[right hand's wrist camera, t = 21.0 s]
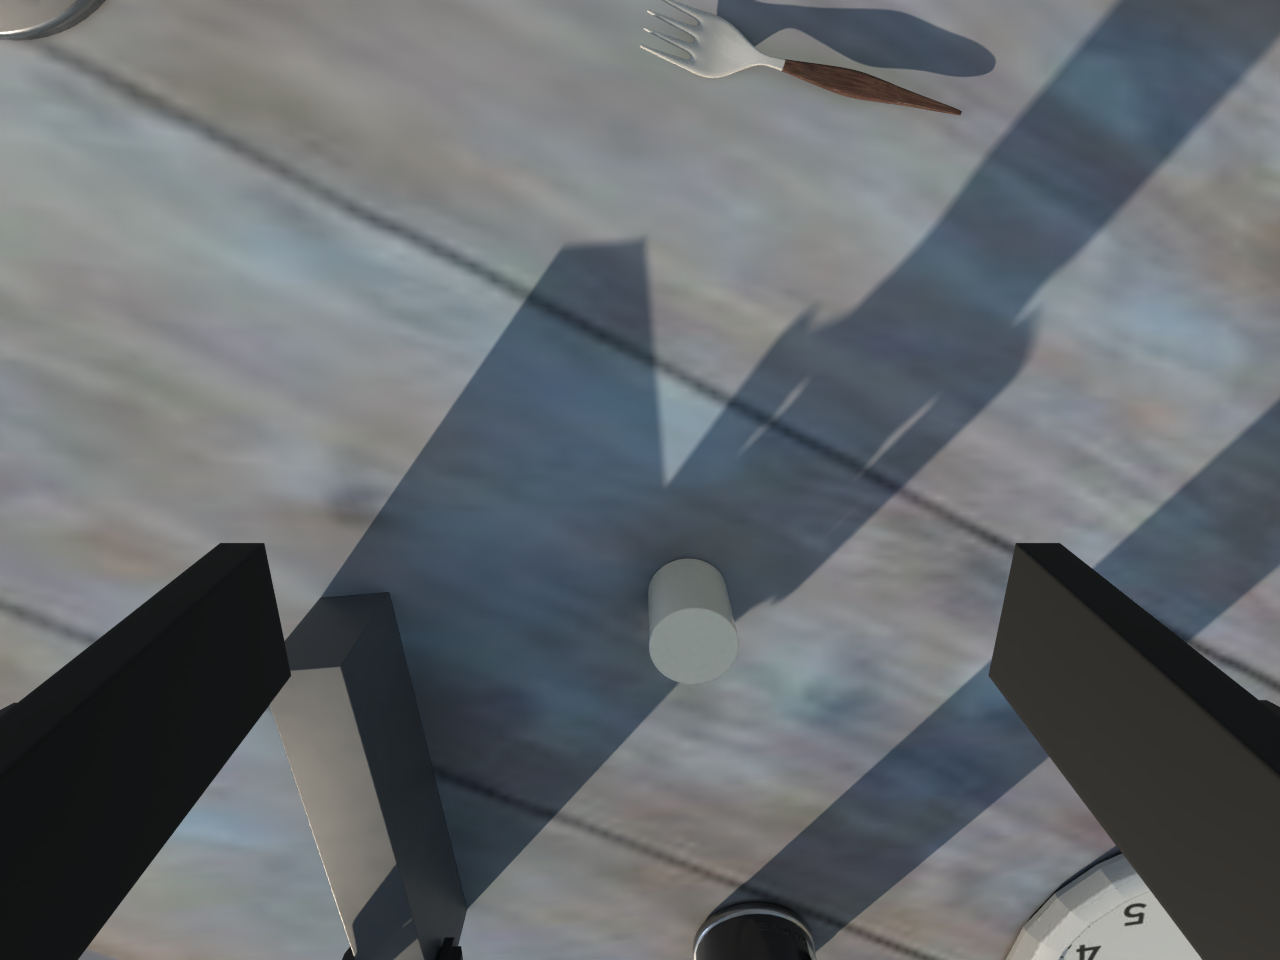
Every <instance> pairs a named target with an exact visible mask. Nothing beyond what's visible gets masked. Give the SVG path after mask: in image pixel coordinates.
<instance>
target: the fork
mask: <svg viewBox="0 0 1280 960" xmlns="http://www.w3.org/2000/svg"><path fill="white" fill-rule="evenodd" d="M662 1H664V2H666V3H667V4H669V5H671V6H673V7H675V8H676V9H678V10H680V11H682V12H684V13H686V14H688V15H690V16H691V17H693V18H695V19H696V20H697V21H698V26H691V25H688V24H685V23H682V22H680V21H677V20H674V19H671V18H669V17H666V16H663V15H660V14H658V13H655V12H652V11H649V10H648V11H647V12H649V13H650V14H652V15H654V16H656V17H657V18H659V19H661V20H663V21H665V22H667V23H668V24H670V25H672V26H674V27H676V28H678V29H680V30H682V31H684V32H686V33H688V34H689V35H691V36H692V37H693V38H694V40H695V41H694V42H693V43H688V42H685V41H682V40H679V39H676V38H673V37H670V36H667V35H664V34H661V33H658V32H656V31H653V30H650V29H647V28H644V30H646V31H648V32H649V33H651V34H653V35H655V36H657V37H659V38H661V39H663V40H665V41H667V42H668V43H670V44H672V45H674V46H676V47H678V48H681V49H682V50H684V51H686V52H688V53H689V54H690V56H691V58H690V59H682V58H679V57H676V56H673V55H670V54H667V53H664V52H661V51H658V50H655V49H652V48H649V47H646V46H644V45H640V47H641V48H643V49H646V50H648V51H649V52H651V53H653V54H655V55H657V56H659V57H661V58H663V59H665V60H667V61H669V62H672V63H674V64H676V65H678V66H680V67H682V68H685V69H687V70H689V71H691V72H693V73H695V74H697V75H700V76H703V77H707V78H718V77H723V76H727V75H730V74H733V73H735V72H738V71H740V70H743V69H745V68H748V67H751V66H755V65H766V66H770V67H773V68H776V69H778V70H781V71H783V72H785V73H788V74H790V75H793V76H795V77H797V78H800V79H802V80H804V81H807V82H809V83H812V84H814V85H816V86H819V87H821V88H824V89H826V90H829V91H831V92H834V93H837V94H840V95H843V96H847V97H851V98H856V99H861V100H867V101H874V102H882V103H889V104H896V105H903V106H909V107H915V108H920V109H926V110H932V111H937V112H943V113H949V114H955V115H961V112H962V111H960V110H958V109H956V108H953V107H951V106H948V105H945V104H943V103H940V102H938V101H935V100H932V99H930V98H927V97H924V96H922V95H919V94H916V93H914V92H911V91H909V90H906V89H904V88H901V87H899V86H896V85H894V84H891V83H889V82H887V81H884V80H882V79H879V78H877V77H874V76H871V75H869V74H866V73H863V72H860V71H856V70H852V69H847V68H842V67H836V66H829V65H822V64H815V63H807V62H800V61H793V60H786V59H780V58H774V57H770V56H767V55H765V54H763V53H761V52H760V51H758V50H757V49H756V48H755V47H754V46H753V45H752V44H751V43H750V42H749V41H748V40H747V39H746V38H745V37H744V36H743V34H742V33H741V32H740V31H739V30H738V29H737V28H735V27H734V26H733V25H732V24H731V23H729V22H728V21H726V20H725V19H723V18H721V17H719V16H717V15H714V14H711V13H707V12H704V11H700V10H698V9H695V8H692V7H689V6H687V5H684V4H681V3H679V2H676V1H674V0H662Z"/></svg>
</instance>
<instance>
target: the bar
mask: <svg viewBox="0 0 1280 960" xmlns="http://www.w3.org/2000/svg"><path fill="white" fill-rule="evenodd" d="M284 642H285V647H286V652H287V657H288V662H289V667H290V671H291V677H290V678H289V679H288V681H287V682H286V683H285V685H284V686H283V687H282V689H281V690H280V691H279V693H278V694H277V695H276V697H275V698H274V699H273V701H272V702H271V703H270V707H271V710H272V713H273V716H274V719H275V722H276V725H277V728H278V731H279V734H280V737H281V740H282V743H283V746H284V749H285V752H286V755H287V758H288V761H289V764H290V767H291V770H292V773H293V776H294V779H295V782H296V785H297V788H298V791H299V794H300V797H301V800H302V803H303V806H304V809H305V812H306V815H307V818H308V821H309V824H310V827H311V830H312V833H313V836H314V838H315V841H316V844H317V847H318V850H319V853H320V856H321V859H322V862H323V865H324V868H325V871H326V874H327V877H328V880H329V883H330V886H331V889H332V892H333V895H334V898H335V901H336V904H337V907H338V910H339V913H340V916H341V919H342V922H343V925H344V928H345V931H346V934H347V937H348V940H349V943H350V946H351V949H352V952H353V955H354V958H355V960H438V959H439V955H440V952H441V948H442V944H443V941H444V938H445V937H455V938H456V944H457V946H458V944H459V940H460V936H461V932H462V928H463V924H464V920H465V916H466V912H467V907H466V903H465V899H464V894H463V890H462V886H461V882H460V878H459V874H458V870H457V866H456V862H455V858H454V854H453V850H452V846H451V842H450V838H449V833H448V829H447V825H446V821H445V817H444V813H443V809H442V805H441V801H440V797H439V793H438V789H437V785H436V781H435V776H434V772H433V768H432V764H431V760H430V756H429V752H428V748H427V744H426V740H425V736H424V732H423V728H422V724H421V720H420V715H419V711H418V707H417V703H416V699H415V695H414V691H413V687H412V683H411V679H410V675H409V671H408V667H407V663H406V659H405V654H404V650H403V646H402V642H401V638H400V634H399V630H398V626H397V622H396V618H395V614H394V610H393V606H392V602H391V598H390V593H389V592H386V593H374V594H362V595H350V596H337V597H325V598H320V599H319V600H318V601H317V603H316V604H315V605H314V606H313V607H312V609H311V610H310V611H309V612H308V614H307V615H306V616H305V617H304V618H303V620H302V621H301V622H300V623H299V624H298V626H297V627H296V628H295V629H294V631H293V632H292V633H291V634H290V635H289V637H288V638H287V639H286V640H285V641H284Z"/></svg>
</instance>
